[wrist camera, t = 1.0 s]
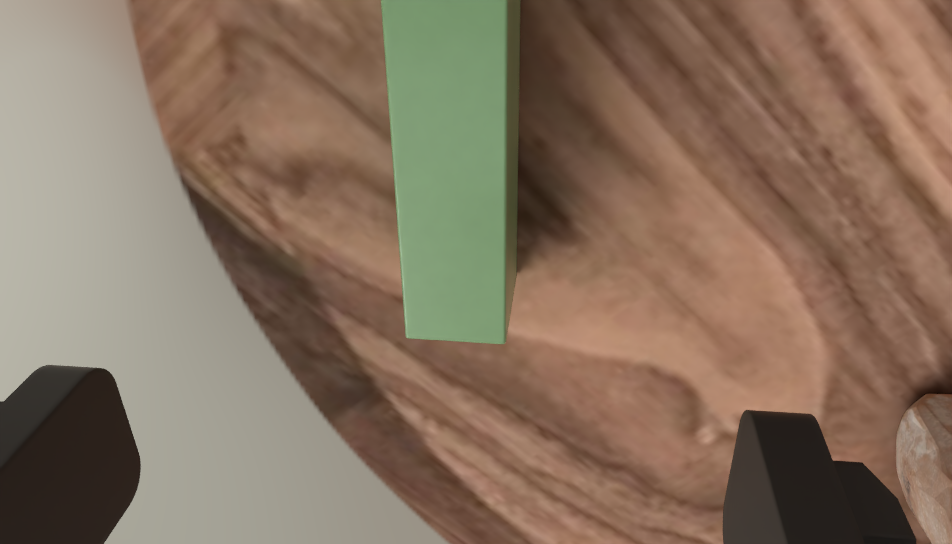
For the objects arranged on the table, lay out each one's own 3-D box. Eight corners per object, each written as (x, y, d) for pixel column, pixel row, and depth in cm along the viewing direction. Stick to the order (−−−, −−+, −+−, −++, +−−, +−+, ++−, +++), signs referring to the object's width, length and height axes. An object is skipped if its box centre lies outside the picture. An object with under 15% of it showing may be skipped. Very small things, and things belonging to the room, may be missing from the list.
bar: (403, -213, 19) (363, -220, 16) (523, -216, 19) (509, -223, 15) (429, 271, 26) (404, 339, 23) (516, 276, 26) (505, 345, 23)
